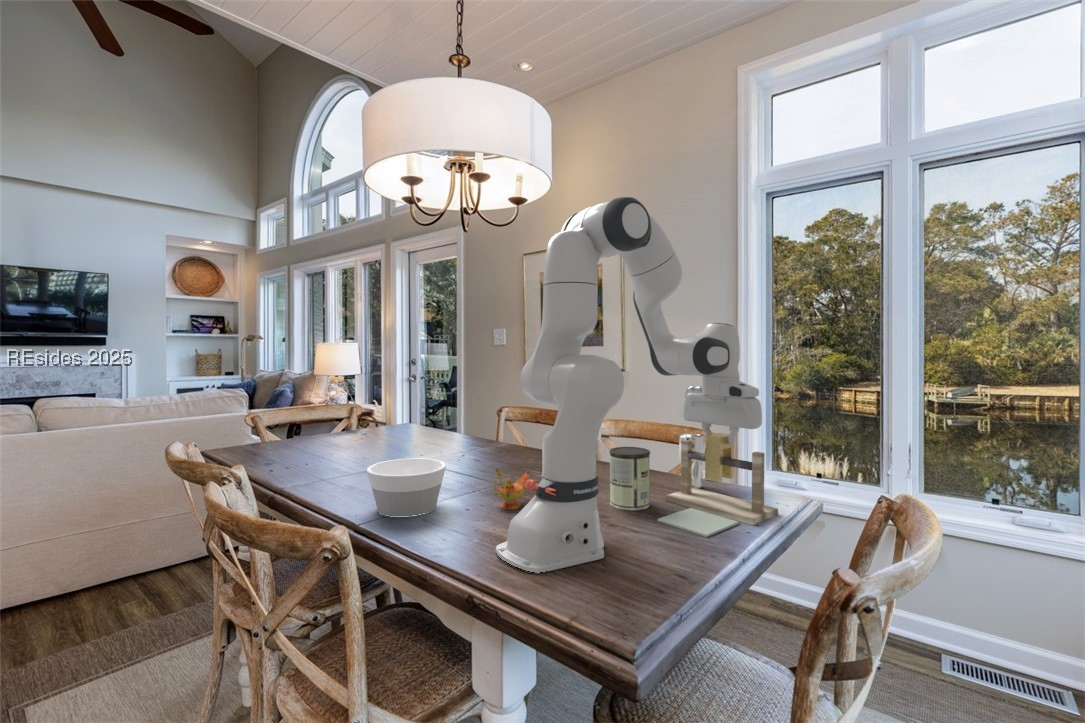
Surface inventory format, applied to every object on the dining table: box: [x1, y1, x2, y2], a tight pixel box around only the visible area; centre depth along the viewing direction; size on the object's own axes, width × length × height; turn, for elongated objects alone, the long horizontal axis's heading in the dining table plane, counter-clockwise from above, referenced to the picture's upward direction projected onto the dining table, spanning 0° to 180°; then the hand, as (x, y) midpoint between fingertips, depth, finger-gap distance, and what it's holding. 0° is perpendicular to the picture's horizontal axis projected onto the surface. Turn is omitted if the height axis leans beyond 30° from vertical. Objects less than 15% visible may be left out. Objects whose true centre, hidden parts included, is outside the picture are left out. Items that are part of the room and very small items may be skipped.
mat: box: [656, 507, 740, 538], centre depth 116 cm, size 13×13×1 cm
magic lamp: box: [494, 468, 533, 510], centre depth 130 cm, size 7×18×11 cm, turn 152°
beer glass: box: [678, 433, 705, 489], centre depth 146 cm, size 7×7×15 cm
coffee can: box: [608, 446, 651, 511], centre depth 129 cm, size 10×10×14 cm
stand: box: [665, 440, 779, 526], centre depth 127 cm, size 12×24×16 cm, turn 39°
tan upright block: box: [704, 432, 735, 483], centre depth 127 cm, size 6×4×11 cm, turn 129°
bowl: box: [366, 457, 447, 516], centre depth 126 cm, size 19×19×11 cm
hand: (719, 442), depth 127 cm, fingers closed on tan upright block, 4 cm apart
